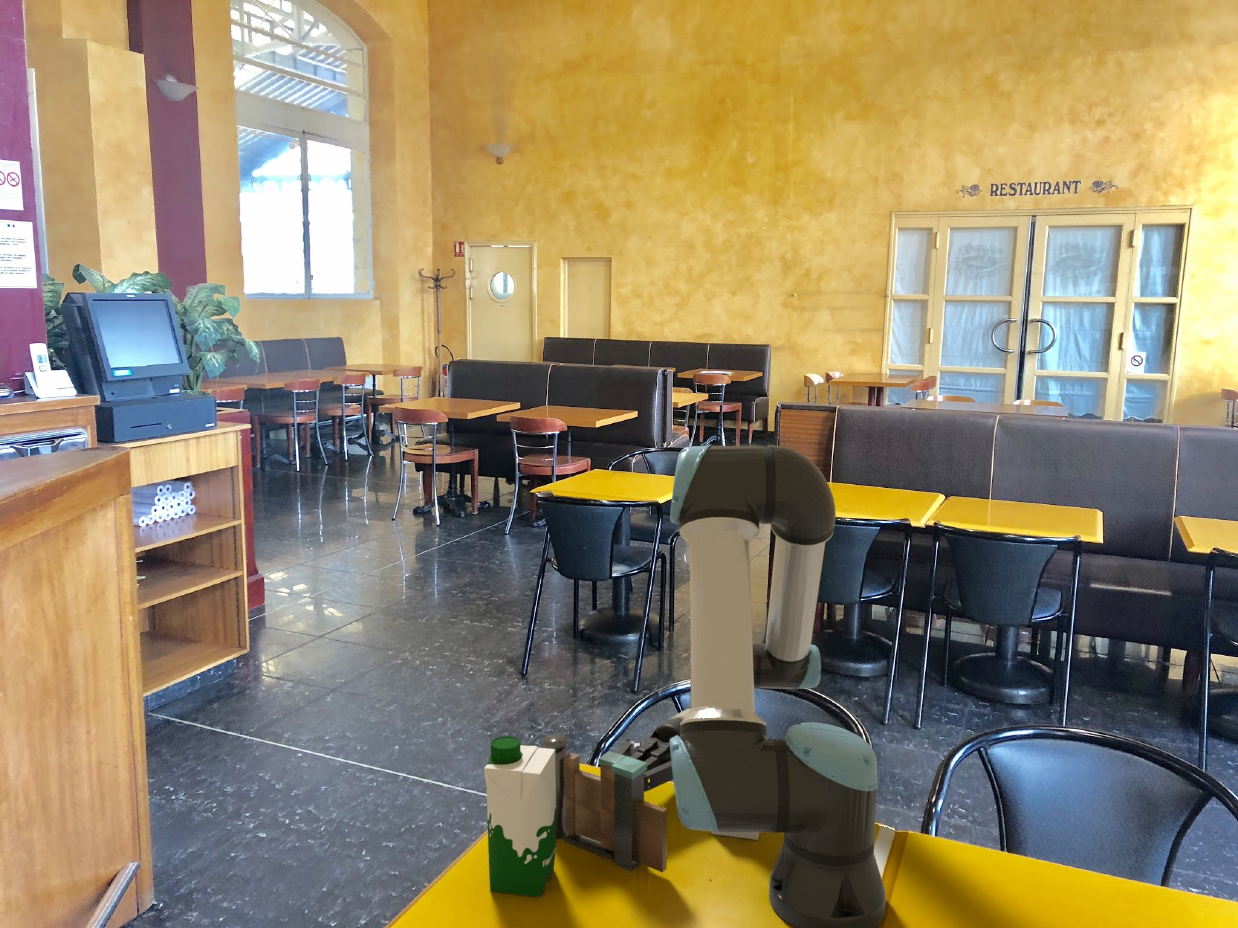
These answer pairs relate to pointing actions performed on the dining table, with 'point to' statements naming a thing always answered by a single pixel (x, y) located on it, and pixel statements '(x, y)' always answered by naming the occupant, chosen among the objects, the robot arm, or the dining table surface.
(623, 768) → the gate posts
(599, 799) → the gate
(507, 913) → the dining table surface
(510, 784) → the milk carton
